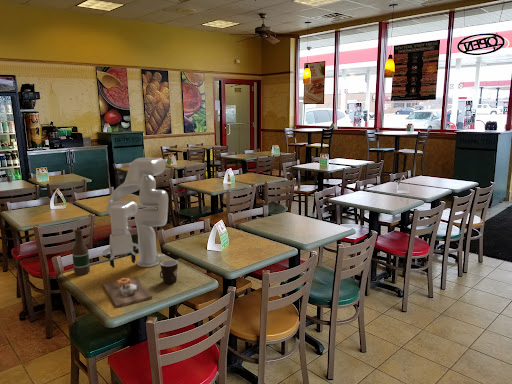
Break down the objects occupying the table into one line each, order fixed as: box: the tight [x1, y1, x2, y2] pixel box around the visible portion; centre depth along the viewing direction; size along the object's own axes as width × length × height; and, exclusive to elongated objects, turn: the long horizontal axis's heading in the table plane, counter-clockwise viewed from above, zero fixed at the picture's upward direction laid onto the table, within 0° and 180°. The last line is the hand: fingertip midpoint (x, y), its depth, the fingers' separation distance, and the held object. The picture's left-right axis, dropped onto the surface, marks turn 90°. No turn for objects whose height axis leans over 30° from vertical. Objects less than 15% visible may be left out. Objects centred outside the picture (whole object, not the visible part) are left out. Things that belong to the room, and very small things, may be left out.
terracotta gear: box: [116, 277, 131, 289], centre depth 191 cm, size 6×6×3 cm
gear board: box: [103, 276, 153, 308], centre depth 187 cm, size 16×26×6 cm, turn 32°
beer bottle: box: [72, 228, 91, 276], centre depth 208 cm, size 8×8×24 cm
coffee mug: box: [159, 259, 179, 285], centre depth 197 cm, size 12×9×10 cm
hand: (123, 264), depth 190 cm, fingers open, 9 cm apart
